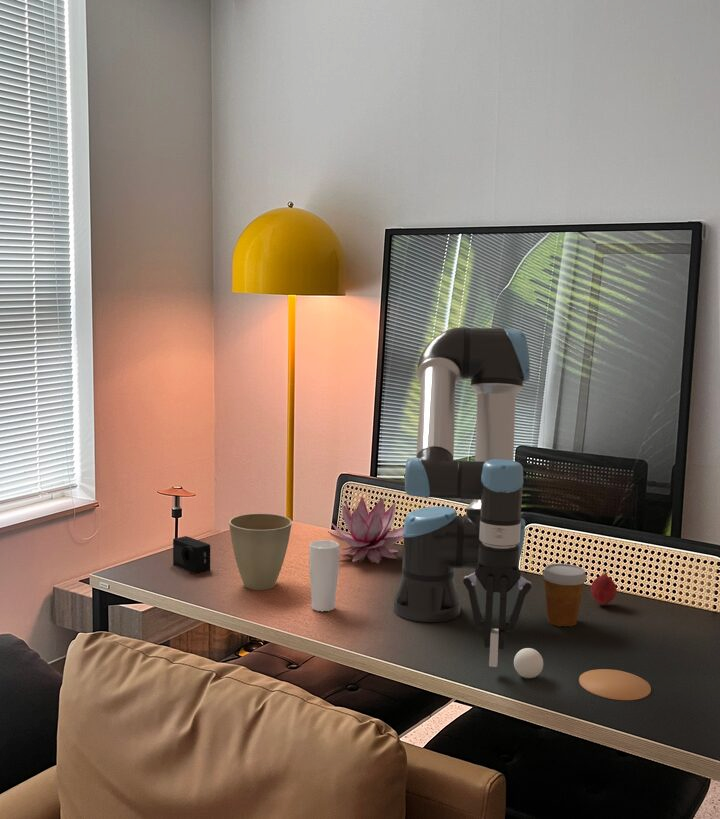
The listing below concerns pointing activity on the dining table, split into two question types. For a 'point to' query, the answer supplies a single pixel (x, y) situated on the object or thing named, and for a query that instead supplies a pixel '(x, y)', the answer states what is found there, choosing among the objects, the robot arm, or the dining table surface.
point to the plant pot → (260, 547)
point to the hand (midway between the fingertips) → (493, 663)
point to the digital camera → (191, 554)
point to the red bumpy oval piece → (603, 589)
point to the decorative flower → (369, 531)
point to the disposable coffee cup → (563, 593)
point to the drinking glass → (323, 574)
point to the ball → (528, 663)
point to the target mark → (614, 684)
